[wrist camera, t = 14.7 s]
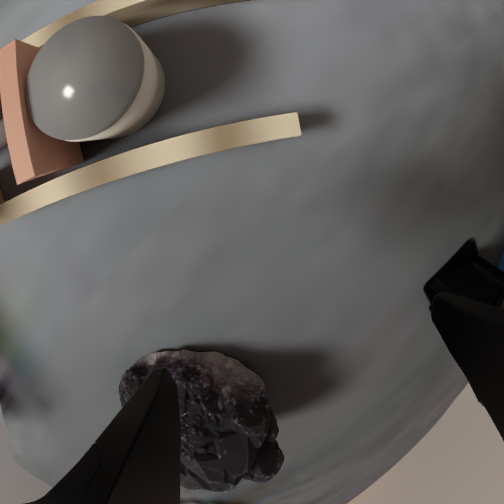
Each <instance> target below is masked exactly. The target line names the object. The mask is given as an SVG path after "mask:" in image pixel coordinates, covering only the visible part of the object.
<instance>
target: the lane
mask: <svg viewBox="0 0 504 504" xmlns="http://www.w3.org/2000/svg"><path fill="white" fill-rule="evenodd" d="M240 1H248V0H99V1H97V2H94V3H92V4H90V5H87V6H85V7H83V8H81V9H79V10H76V11H74V12H72V13H70V14H68V15H66V16H64V17H62V18H60V19H58V20H56V21H55V22H53V23H51V24H49V25H47V26H46V27H44V28H42V29H40V30H39V31H37V32H35V33H34V34H32V35H30V36H29V37H27V38H25V39H24V40H22V42H25V43H28V44H30V45H33V46H36V47H38V48H42V46H43V45H44V44H45V43H46V41H47V40H48V39H49V38H50V37H51V36H52V35H53V34H55V33H56V32H57V31H58V30H60V29H61V28H62V27H64V26H65V25H67V24H69V23H71V22H73V21H76V20H78V19H81V18H85V17H89V16H107V17H111V18H114V19H117V20H119V21H121V22H122V23H124V24H126V25H128V26H129V27H132V26H135V25H138V24H141V23H145V22H148V21H151V20H154V19H158V18H161V17H165V16H169V15H173V14H176V13H181V12H185V11H189V10H194V9H198V8H203V7H209V6H214V5H220V4H226V3H233V2H240ZM295 136H301V130H300V124H299V119H298V114H297V112H295V113H288V114H282V115H276V116H269V117H264V118H258V119H252V120H247V121H242V122H237V123H232V124H227V125H223V126H218V127H214V128H209V129H205V130H201V131H197V132H193V133H189V134H185V135H181V136H178V137H174V138H170V139H167V140H163V141H160V142H156V143H153V144H149V145H146V146H143V147H140V148H137V149H133V150H130V151H127V152H124V153H121V154H118V155H115V156H112V157H110V158H107V159H104V160H101V161H98V162H96V163H93V164H90V165H88V166H85V167H83V168H80V169H77V170H75V171H72V172H70V173H68V174H65V175H63V176H60V177H58V178H56V179H53V180H51V181H49V182H46V183H44V184H42V185H40V186H38V187H35V188H33V189H31V190H29V191H27V192H25V193H23V194H21V195H19V196H16V197H14V198H12V199H10V200H9V201H7V202H4V198H3V195H2V191H1V187H0V226H1V225H3V224H5V223H7V222H9V221H11V220H14V219H16V218H18V217H20V216H22V215H25V214H27V213H29V212H32V211H34V210H36V209H39V208H41V207H44V206H46V205H48V204H51V203H53V202H56V201H58V200H61V199H64V198H66V197H69V196H71V195H74V194H77V193H79V192H82V191H85V190H88V189H90V188H93V187H96V186H99V185H102V184H105V183H108V182H111V181H114V180H117V179H120V178H123V177H126V176H129V175H132V174H136V173H139V172H142V171H146V170H149V169H152V168H156V167H159V166H163V165H167V164H170V163H174V162H178V161H181V160H185V159H189V158H193V157H197V156H201V155H205V154H209V153H214V152H218V151H222V150H227V149H231V148H236V147H241V146H246V145H250V144H256V143H261V142H266V141H271V140H277V139H283V138H289V137H295Z"/></svg>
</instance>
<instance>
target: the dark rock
mask: <svg viewBox="0 0 504 504" xmlns="http://www.w3.org/2000/svg"><path fill="white" fill-rule="evenodd" d="M161 367H166V368H168V370H169V371H170V373H171V375H172V377H173V379H174V381H175V383H176V385H177V388H178V398H179V411H180V423H181V457H180V485H181V486H182V487H184V488H186V489H191V490H197V489H204V490H211V491H215V492H225V493H226V492H228V491H229V490H231V489H234V488H235V487H236V485H237V484H238V483H239V481H240V480H241V478H243V479H246V480H251V481H255V482H258V483H264V482H268V481H269V480H271V479H272V478H273V477H274V476H275V475H276V474H277V473H278V472H279V470H280V468H281V466H282V464H283V461H284V455H283V453H282V451H281V449H280V448H279V446H278V443H277V441H276V440H275V439H276V437H277V435H278V432H279V429H278V426H277V421H276V418H275V416H274V414H273V411H272V409H271V407H270V405H269V401H268V395H267V391H266V388H265V385H264V382H263V380H262V379H261V378H260V377H259V376H258V375H256V374H255V373H254V372H253V371H251V370H249V369H247V368H246V367H245V366H243V365H242V364H241V363H240V362H239V361H238V360H236V359H233V358H231V357H227V356H225V355H224V354H221V353H219V352H193V351H188V350H185V349H184V350H181V351H175V352H174V351H168V350H167V351H163V352H152V353H150V354H149V355H147V356H145V357H143V358H141V359H140V360H138V361H137V362H136V363H135V364H134V365H133V366H132V367H130V369H129V370H126V372H125V373H124V374H123V375H122V377H121V382H120V385H119V394H120V396H119V398H120V401H121V405H122V408H123V406H124V405H125V404H126V403H127V402H128V400H129V399H130V398H131V397H132V395H133V394H134V393H135V392H136V390H137V389H138V388H139V387H140V385H141V384H142V383H143V382H144V380H145V379H146V378H147V377H148V375H149V374H150V373H151V372H152V371H153V369H155V368H161Z"/></svg>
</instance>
